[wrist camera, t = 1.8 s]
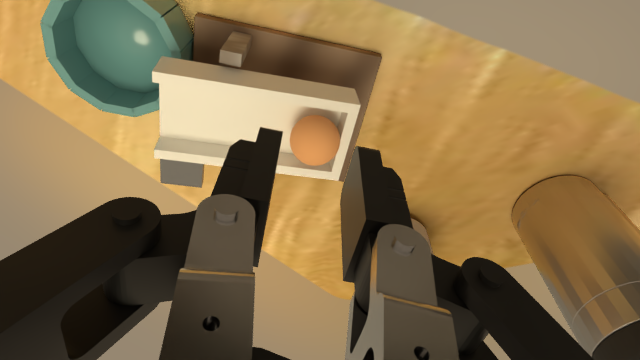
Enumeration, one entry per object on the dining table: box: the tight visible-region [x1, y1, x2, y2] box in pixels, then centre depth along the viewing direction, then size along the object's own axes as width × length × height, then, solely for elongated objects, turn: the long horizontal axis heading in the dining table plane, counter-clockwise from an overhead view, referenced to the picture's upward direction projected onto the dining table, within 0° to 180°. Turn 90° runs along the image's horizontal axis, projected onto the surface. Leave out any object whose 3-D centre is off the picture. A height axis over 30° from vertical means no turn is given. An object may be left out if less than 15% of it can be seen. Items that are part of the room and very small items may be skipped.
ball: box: [290, 115, 340, 166], centre depth 32 cm, size 4×4×4 cm
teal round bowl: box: [40, 0, 194, 117], centre depth 34 cm, size 11×11×4 cm
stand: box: [193, 13, 382, 182], centre depth 37 cm, size 16×14×6 cm
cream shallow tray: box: [152, 56, 361, 188], centre depth 34 cm, size 15×11×3 cm
